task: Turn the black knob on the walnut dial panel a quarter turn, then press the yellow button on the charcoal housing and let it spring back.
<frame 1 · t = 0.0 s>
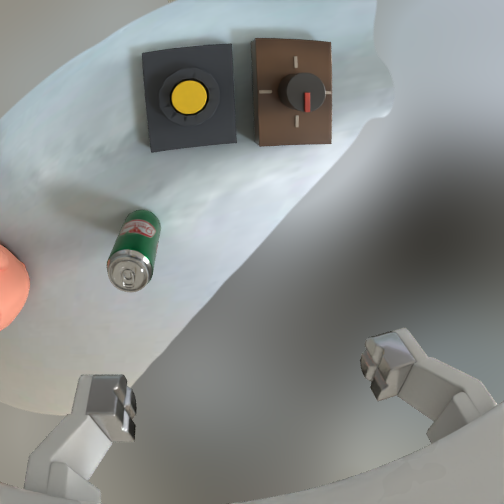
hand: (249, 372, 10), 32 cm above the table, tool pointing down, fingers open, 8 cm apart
knob: (301, 91, 31), point 5 cm above the table, hinge at 0.0°
dial panel: (288, 91, 35), on the table
button: (189, 97, 29), point 4 cm above the table, slide at 0.1 cm
teapot: (3, 264, 39), on the table
soda can: (142, 224, 40), on the table
button box: (189, 96, 33), on the table
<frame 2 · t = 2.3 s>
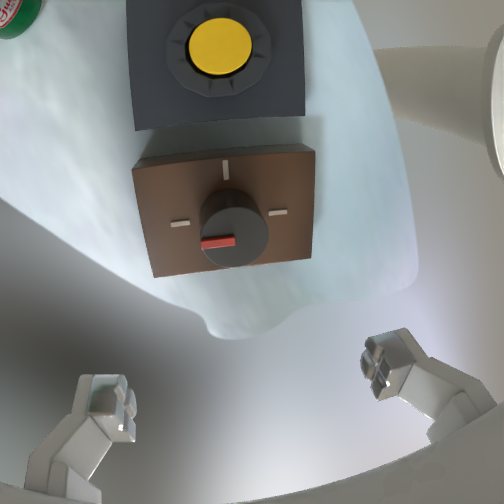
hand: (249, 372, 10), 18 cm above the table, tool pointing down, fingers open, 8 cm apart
knob: (232, 228, 21), point 5 cm above the table, hinge at 0.0°
dial panel: (225, 202, 26), on the table
button: (219, 46, 16), point 4 cm above the table, slide at 0.1 cm
soda can: (20, 12, 14), on the table
button box: (215, 54, 19), on the table
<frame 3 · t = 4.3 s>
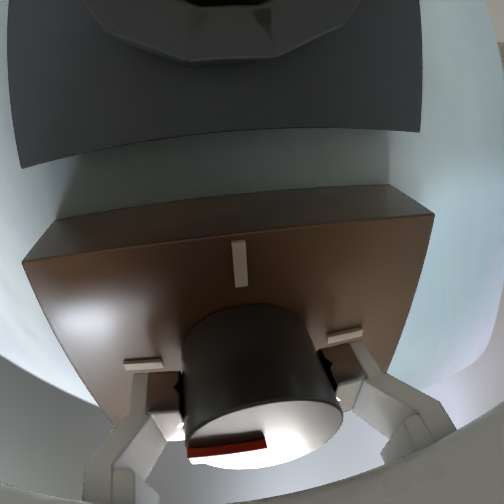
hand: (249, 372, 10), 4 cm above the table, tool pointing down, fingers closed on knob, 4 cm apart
knob: (256, 397, 9), point 5 cm above the table, hinge at 0.0°, touching gripper
dial panel: (234, 298, 13), on the table
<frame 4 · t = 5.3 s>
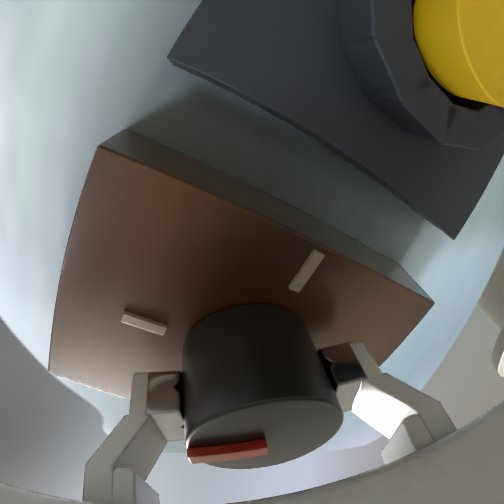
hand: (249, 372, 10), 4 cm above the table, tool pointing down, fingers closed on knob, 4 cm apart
knob: (256, 397, 9), point 5 cm above the table, hinge at 31.5°, touching gripper
dial panel: (234, 298, 13), on the table
button: (480, 39, 5), point 4 cm above the table, slide at 0.1 cm
button box: (391, 42, 9), on the table
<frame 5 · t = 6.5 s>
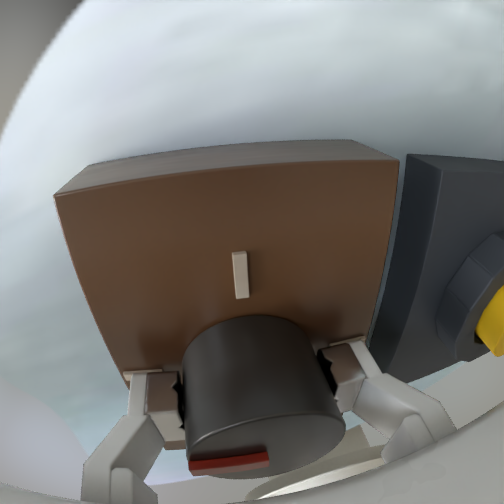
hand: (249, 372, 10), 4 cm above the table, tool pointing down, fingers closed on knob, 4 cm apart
knob: (258, 408, 9), point 5 cm above the table, hinge at 90.3°, touching gripper
dial panel: (235, 307, 13), on the table
button box: (458, 266, 14), on the table
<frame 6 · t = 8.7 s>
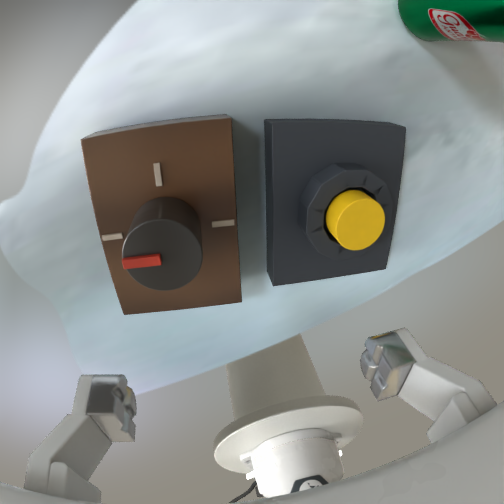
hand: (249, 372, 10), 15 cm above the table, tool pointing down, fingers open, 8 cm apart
knob: (163, 243, 18), point 5 cm above the table, hinge at 90.0°
dial panel: (169, 211, 22), on the table
button: (355, 219, 20), point 4 cm above the table, slide at 0.1 cm
soda can: (417, 14, 17), on the table
button box: (329, 196, 23), on the table
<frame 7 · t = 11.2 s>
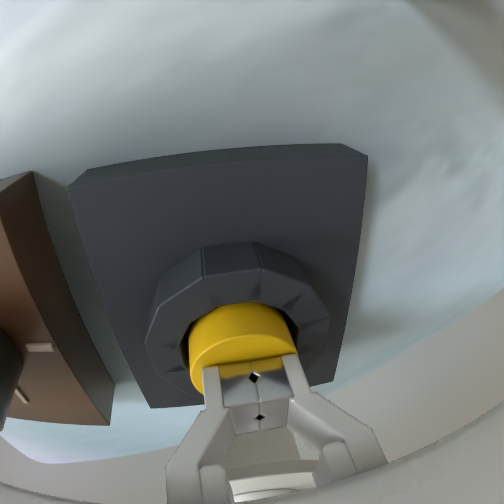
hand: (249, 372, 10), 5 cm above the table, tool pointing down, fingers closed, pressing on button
dial panel: (7, 307, 13), on the table
button: (241, 354, 10), point 4 cm above the table, slide at -0.1 cm, touching gripper
button box: (227, 284, 14), on the table
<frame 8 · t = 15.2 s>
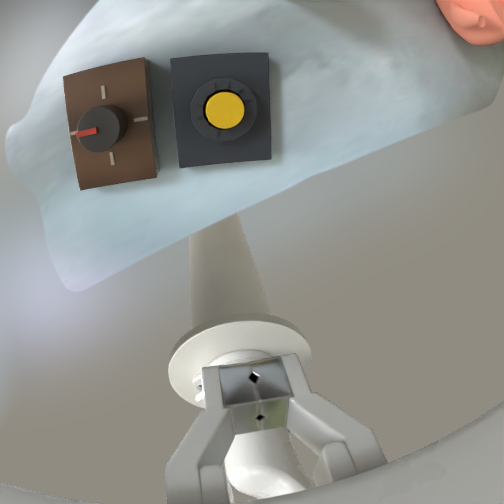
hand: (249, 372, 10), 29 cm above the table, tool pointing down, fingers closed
knob: (102, 127, 26), point 5 cm above the table, hinge at 90.0°
dial panel: (114, 122, 30), on the table
button: (224, 109, 28), point 4 cm above the table, slide at 0.1 cm
teapot: (451, 4, 27), on the table
button box: (220, 107, 32), on the table
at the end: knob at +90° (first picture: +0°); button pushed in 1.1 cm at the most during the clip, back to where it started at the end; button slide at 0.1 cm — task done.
